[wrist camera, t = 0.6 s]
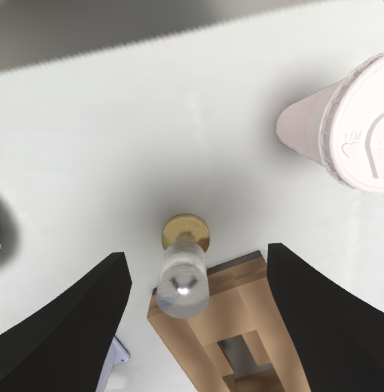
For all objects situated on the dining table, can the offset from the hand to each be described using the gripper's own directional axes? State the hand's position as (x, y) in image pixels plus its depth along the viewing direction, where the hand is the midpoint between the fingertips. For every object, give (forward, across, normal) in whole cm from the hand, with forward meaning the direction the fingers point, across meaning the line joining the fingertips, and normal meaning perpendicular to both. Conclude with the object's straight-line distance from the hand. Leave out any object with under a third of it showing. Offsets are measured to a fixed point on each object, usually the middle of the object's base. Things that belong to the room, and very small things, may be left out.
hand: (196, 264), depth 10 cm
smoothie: (+11, -9, -5) cm, 15 cm away
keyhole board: (+10, -4, +20) cm, 23 cm away
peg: (+10, +2, +5) cm, 11 cm away
